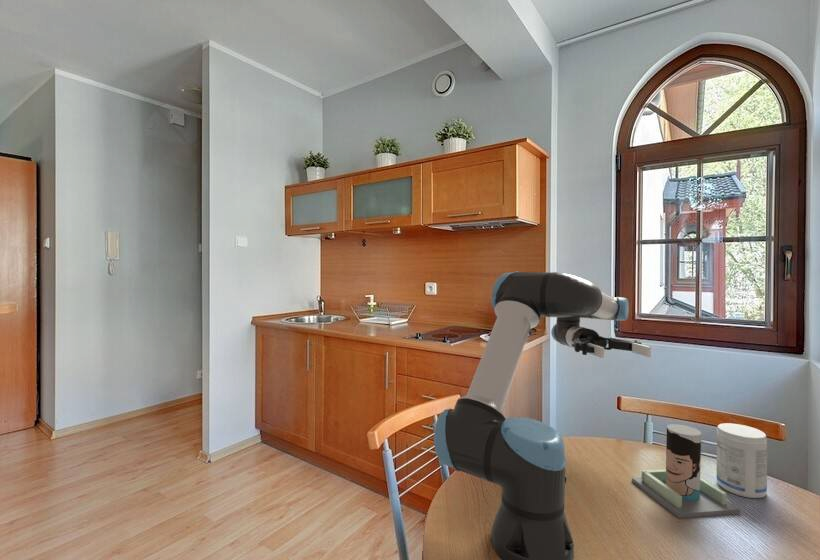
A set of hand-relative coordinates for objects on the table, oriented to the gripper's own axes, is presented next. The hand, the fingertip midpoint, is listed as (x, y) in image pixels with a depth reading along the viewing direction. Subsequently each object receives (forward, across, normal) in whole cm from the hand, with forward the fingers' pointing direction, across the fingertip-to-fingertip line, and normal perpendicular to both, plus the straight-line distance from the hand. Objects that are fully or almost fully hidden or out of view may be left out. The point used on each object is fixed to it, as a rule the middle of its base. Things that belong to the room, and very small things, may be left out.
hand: (626, 352), depth 107 cm
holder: (+14, -5, -32) cm, 35 cm away
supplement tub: (+12, -22, -32) cm, 41 cm away
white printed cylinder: (+14, -5, -31) cm, 34 cm away
